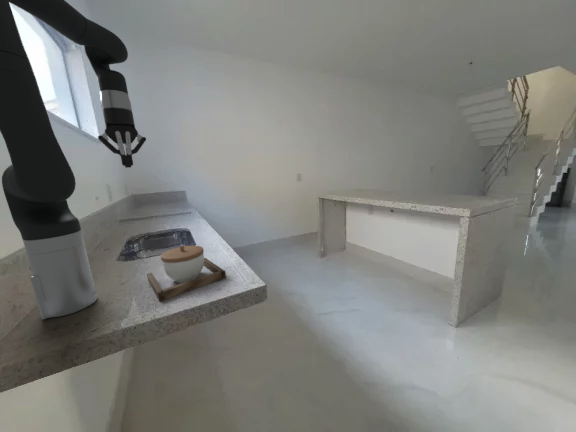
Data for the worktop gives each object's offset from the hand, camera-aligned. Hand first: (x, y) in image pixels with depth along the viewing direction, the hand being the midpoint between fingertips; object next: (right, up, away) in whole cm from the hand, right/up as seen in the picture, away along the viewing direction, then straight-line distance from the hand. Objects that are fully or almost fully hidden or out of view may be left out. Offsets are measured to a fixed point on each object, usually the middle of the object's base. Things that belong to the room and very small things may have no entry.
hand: (128, 167), depth 75 cm
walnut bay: (+22, -33, -10) cm, 41 cm away
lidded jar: (+23, -33, -9) cm, 41 cm away
